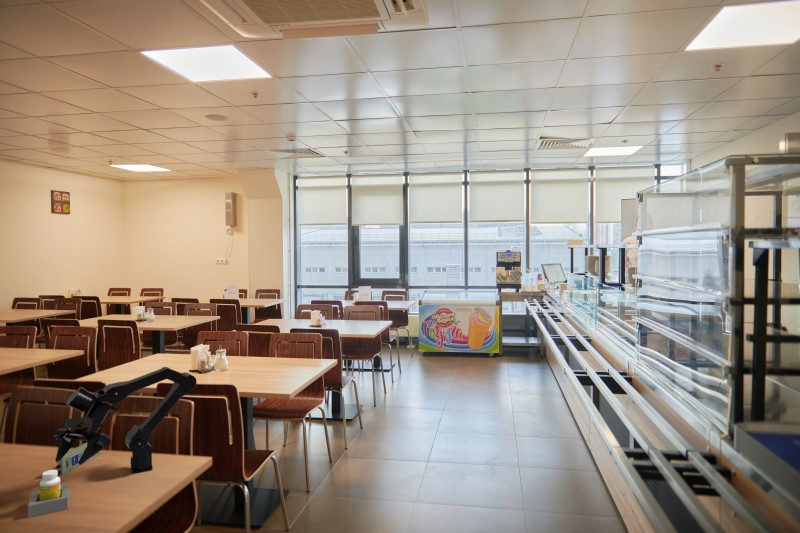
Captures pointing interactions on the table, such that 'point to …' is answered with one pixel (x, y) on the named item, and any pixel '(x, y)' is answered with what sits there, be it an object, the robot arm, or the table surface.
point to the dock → (48, 503)
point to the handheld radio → (73, 459)
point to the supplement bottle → (50, 485)
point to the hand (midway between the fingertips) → (68, 462)
